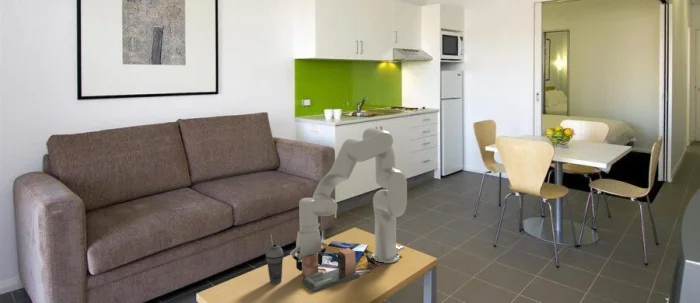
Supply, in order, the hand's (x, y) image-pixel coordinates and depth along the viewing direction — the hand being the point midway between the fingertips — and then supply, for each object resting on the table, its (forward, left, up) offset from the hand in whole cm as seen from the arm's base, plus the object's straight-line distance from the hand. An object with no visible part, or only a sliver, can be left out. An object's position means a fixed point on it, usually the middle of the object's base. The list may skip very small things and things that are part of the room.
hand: (309, 266), depth 192 cm
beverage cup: (+15, -2, -3) cm, 15 cm away
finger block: (0, 0, -3) cm, 3 cm away
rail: (-4, +10, -3) cm, 11 cm away
